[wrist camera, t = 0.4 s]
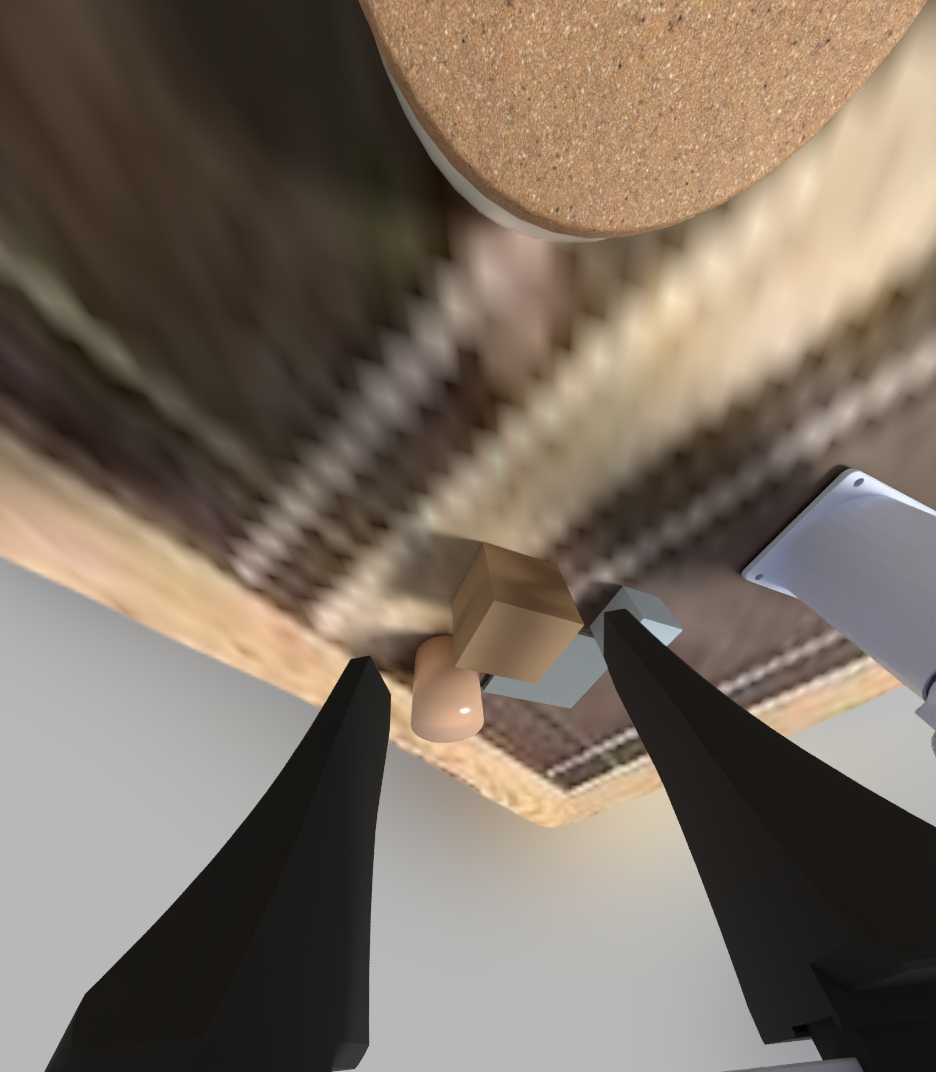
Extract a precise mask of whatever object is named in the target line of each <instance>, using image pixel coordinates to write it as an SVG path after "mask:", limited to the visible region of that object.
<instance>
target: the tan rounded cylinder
mask: <svg viewBox="0 0 936 1072" xmlns="http://www.w3.org/2000/svg"><path fill="white" fill-rule="evenodd" d="M483 722H484V719H483V709H482V700H481V691H480V681H479V672H477V671H472V670H467V669H462V668H458V667H455V663H454V639H453V635H440V636H435V637H432V638H430V639H428V640H426V641H424V642H423V643H422V644H421V645H420V646H419V647H418V649H417V651H416V656H415V671H414V685H413V700H412V715H411V728H412V730H413V731H414V733H415V734H416V735H418V736H419V737H421V738H423V739H425V740H428V741H432V742H438V743H450V742H457V741H461V740H464V739H467V738H469V737H471V736H473V735H475V734H476V733H477V732H478V731H479V730H480V729H481V728H482V726H483Z"/></svg>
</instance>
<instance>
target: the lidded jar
mask: <svg viewBox="0 0 936 1072" xmlns="http://www.w3.org/2000/svg"><path fill="white" fill-rule="evenodd" d="M358 1H359V3H360V5H361V8H362V10H363V12H364V15H365V17H366V19H367V21H368V24H369V26H370V28H371V31H372V33H373V35H374V38H375V41H376V44H377V47H378V50H379V53H380V56H381V59H382V62H383V65H384V68H385V70H386V72H387V74H388V77H389V79H390V81H391V84H392V86H393V88H394V90H395V93H396V95H397V97H398V100H399V102H400V104H401V106H402V109H403V111H404V113H405V115H406V117H407V119H408V120H409V122H410V124H411V126H412V128H413V129H414V131H415V133H416V134H417V136H418V138H419V139H420V141H421V143H422V144H423V146H424V148H425V150H426V151H427V153H428V155H429V156H430V158H431V160H432V161H433V163H434V164H435V165H436V166H437V168H438V169H439V170H440V171H441V173H442V174H443V175H444V177H445V178H446V179H447V180H448V182H449V183H450V184H451V185H452V187H453V188H454V189H455V190H456V191H457V192H458V193H459V194H460V195H461V196H462V197H463V198H464V199H466V200H467V201H468V202H469V203H470V204H471V205H472V206H473V207H474V208H475V209H476V210H478V211H479V212H480V213H482V214H483V215H485V216H486V217H488V218H489V219H491V220H493V221H494V222H496V223H497V224H499V225H500V226H502V227H504V228H506V229H509V230H511V231H514V232H516V233H519V234H521V235H524V236H526V237H529V238H534V239H540V240H546V241H552V242H559V243H578V242H595V241H599V240H604V239H608V238H614V237H629V236H633V235H637V234H641V233H645V232H650V231H654V230H658V229H662V228H666V227H669V226H673V225H675V224H678V223H680V222H683V221H685V220H687V219H690V218H692V217H694V216H697V215H699V214H701V213H703V212H706V211H708V210H710V209H713V208H715V207H717V206H720V205H722V204H723V203H725V202H726V201H728V200H730V199H731V198H733V197H734V196H736V195H738V194H739V193H741V192H742V191H744V190H746V189H747V188H749V187H750V186H752V185H754V184H755V183H757V182H759V181H760V180H762V179H763V178H765V177H766V176H767V175H768V174H770V173H771V172H772V171H773V170H774V169H776V168H777V167H778V166H779V165H781V164H782V163H783V162H784V161H785V160H787V159H788V158H789V157H790V156H792V155H793V154H794V153H795V152H796V151H798V150H799V149H800V148H801V147H803V146H804V145H805V144H806V143H808V142H809V141H810V140H811V139H812V138H813V136H814V135H815V134H816V133H817V132H818V131H819V130H820V129H821V128H822V127H823V126H824V125H825V124H826V123H827V122H828V121H829V120H830V119H831V118H832V117H833V116H834V115H835V114H836V113H837V112H838V111H839V110H840V109H841V108H842V107H843V106H844V105H845V104H846V103H847V102H848V101H849V100H850V99H851V98H852V97H853V96H854V95H855V94H856V92H857V91H858V90H859V89H860V88H861V86H862V85H863V84H864V83H865V81H866V80H867V79H868V78H869V77H870V75H871V74H872V73H873V72H874V70H875V69H876V68H877V67H878V66H879V64H880V63H881V62H882V61H883V59H884V58H885V57H886V56H887V55H888V53H889V52H890V51H891V50H892V49H893V47H894V46H895V45H896V44H897V42H898V41H899V40H900V39H901V38H902V36H903V35H904V33H905V32H906V30H907V29H908V28H909V26H910V25H911V23H912V22H913V20H914V19H915V17H916V16H917V15H918V13H919V12H920V10H921V9H922V7H923V6H924V4H925V3H926V2H927V0H358Z"/></svg>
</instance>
